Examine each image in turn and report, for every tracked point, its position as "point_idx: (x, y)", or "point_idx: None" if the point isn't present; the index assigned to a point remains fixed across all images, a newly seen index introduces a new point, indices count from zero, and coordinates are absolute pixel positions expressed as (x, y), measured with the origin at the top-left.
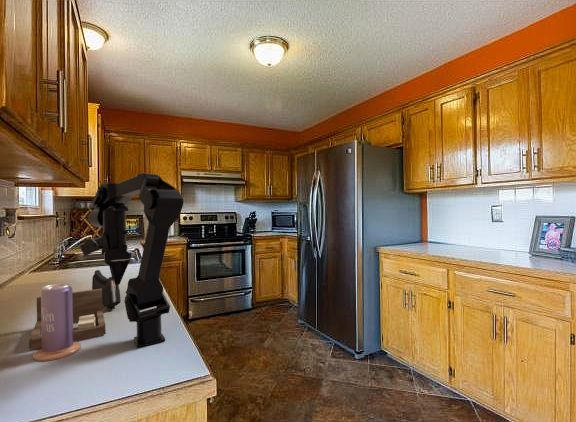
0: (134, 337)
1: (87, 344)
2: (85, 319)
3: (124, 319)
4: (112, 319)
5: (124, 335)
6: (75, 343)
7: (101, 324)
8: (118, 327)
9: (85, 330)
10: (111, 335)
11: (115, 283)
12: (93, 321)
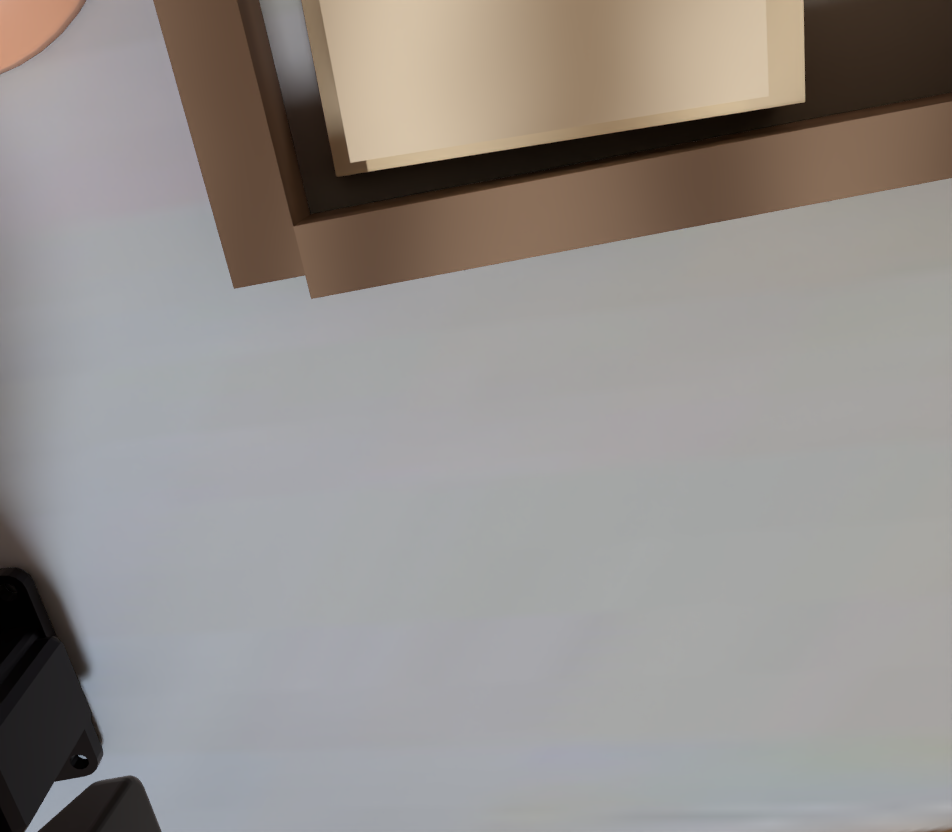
0: (9, 580)
1: (40, 138)
2: (545, 9)
3: (755, 418)
4: (842, 284)
5: (187, 470)
6: (16, 7)
7: (326, 252)
8: (484, 386)
9: (179, 82)
10: (240, 347)
11: (65, 817)
12: (385, 148)
